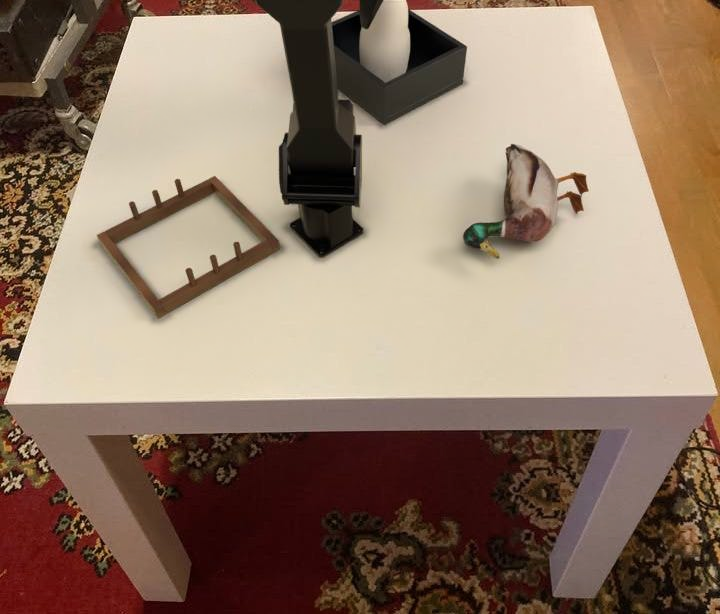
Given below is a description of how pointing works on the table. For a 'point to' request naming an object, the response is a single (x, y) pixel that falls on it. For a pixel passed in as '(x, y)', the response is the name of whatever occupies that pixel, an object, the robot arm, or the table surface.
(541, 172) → the decorative duck model
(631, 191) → the table surface
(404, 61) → the figurine
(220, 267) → the drying rack
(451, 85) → the dark grey open box
